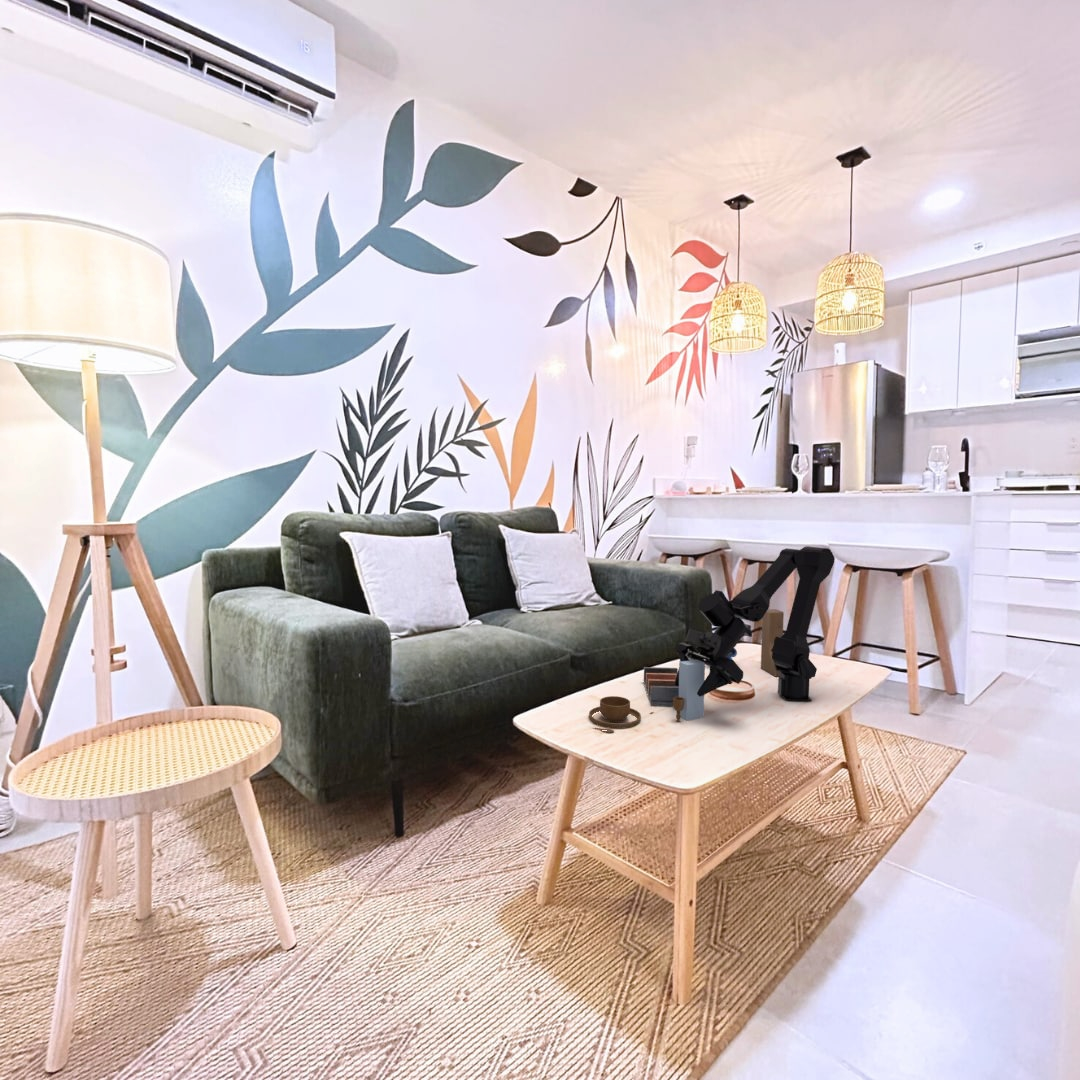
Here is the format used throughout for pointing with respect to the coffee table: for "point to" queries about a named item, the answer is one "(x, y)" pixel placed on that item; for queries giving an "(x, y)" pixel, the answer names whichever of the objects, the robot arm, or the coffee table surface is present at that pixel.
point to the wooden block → (770, 639)
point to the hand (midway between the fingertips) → (686, 690)
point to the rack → (661, 685)
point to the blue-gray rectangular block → (691, 688)
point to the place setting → (624, 712)
